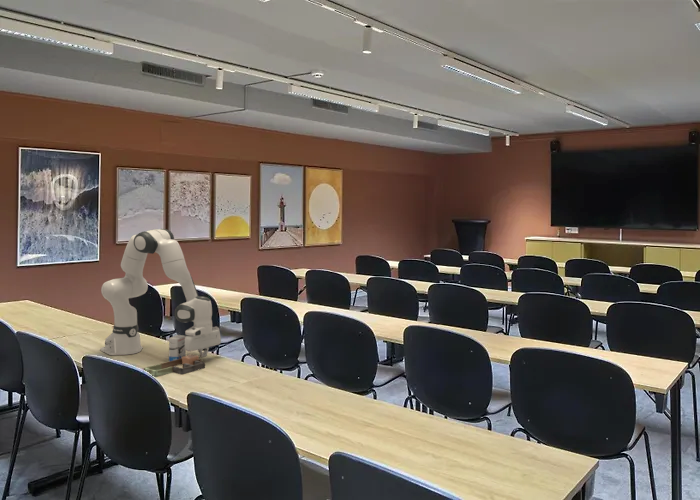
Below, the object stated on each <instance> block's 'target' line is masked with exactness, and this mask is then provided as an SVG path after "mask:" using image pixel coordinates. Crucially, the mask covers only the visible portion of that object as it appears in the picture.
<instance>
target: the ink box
mask: <svg viewBox="0 0 700 500" xmlns="http://www.w3.org/2000/svg"><path fill="white" fill-rule="evenodd" d="M186 336H187V335H183V334H182V335H181V334H175V335H173V336H171V337H169V339H168V362H169V361H173V360H177V359H181V358H182V357H184V356H187V355H186V352H187V351H186V350H185V337H186Z"/></svg>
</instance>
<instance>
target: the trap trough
mask: <svg viewBox="0 0 700 500" xmlns="http://www.w3.org/2000/svg"><path fill="white" fill-rule="evenodd" d="M179 365H182V358H181V359H177V360H173V361H169V360H168V361H166V362H162V363H157V364H155V365H150V366H147V367H143V371H144V370H145V371H147V372H149V373H150V374H152V375H153V376H152V377H154V376H155V378H157V377H161V376H164V375H169V374H172V373H175V374H180V375H184V374H189V373H191V372H195V371H199V370H202V369H205V368H206V362H204V361H202V359H201V358H199V359H198V360H194V365H191V364H187V363H183V365H182V367H179ZM198 369H199V370H198Z"/></svg>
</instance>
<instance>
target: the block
mask: <svg viewBox="0 0 700 500" xmlns="http://www.w3.org/2000/svg"><path fill="white" fill-rule="evenodd" d="M199 357H200V355H197V354H196V355H195V354H193V353H192V354H189V355H186V356H184V357H182V364H181V365H182V366H183V363H187V364H191V365H194V360H198V359H200V358H199Z"/></svg>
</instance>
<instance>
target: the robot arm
mask: <svg viewBox="0 0 700 500" xmlns="http://www.w3.org/2000/svg"><path fill="white" fill-rule="evenodd" d="M123 252H124V253H123V255H122V259H121V262H120V267H121V268H120V269H121V270H122V271H123V272H124V273H125V275H124V276H123V277H121V278H113V279H110V280H107V281H105V282H103V284H102V285H101V289H100V291H101V295H102V297H103V298H104V300H107V301H108V303H110V306H111V308H112V310H113V319H114V321H113V323H114V325H112V327H111V328H112V332H111V333H110V334H109V335H108V336H107V337H106V338H105V339H104V346H102V347H100V349H99V350H100V351H101V352H103V353H105V354H107V355H109V356H120V355H121V356H123V355H124V356H127V355H133V354H134V355H135V354H137V353H140V352H141V351H142V349H143V348H144V347H143V346H142V344H141V334H140V333H139V325H138V312H137V309H136V307H134V306H132V305H131V304H130V301H129V299H133V298H137V297H141V296H143V295H145V294H146V292H147V291H148V289H149V288H148V287H149V286H148V285H149V284H148V282H147V279H146V278H144V276H143V275H144V274H143V273H144V267H145V264H146V260H147V257H148V254H152V255H153V254H155V253H156V254H157V255H159V258H160V261H161V266H162V270H163V271H164V274H165V276H166V277H167V278H168V279H170V280H172V281H175V282H177V283H178V284H179V285H180V287H181V289H182V292H183V294H184V296H185V300H186V302H183V303H180V304H179V305H177V306H176V307H175V309H174V317H175V318H176V320H177V321H178V322H180V323H190V322H193V326H191V327H189V328H188V329H186V330H185V331H184V332H185V333H184V334H185V336H186V337H185V350H186V352H194V351H198V353H199V357H200V358H204V357H207V356H208V352H209V350H210V347H215V346H218V345H221V344H222V340H221V339H222V338H221V332H220V331H221V330H220V328H219V326H213V320H212V316H213V307H212V301H211V299H210V298H209V297H208V296H202V295H199V293H198V291H197V287H196V284H195V281H194V280H193V277H192V274H191V272H190V271H189V269H188V267H187V263H186V259H185V255H184V252H183V250H182V248H181V245H180V244H179V242H178V240H176V239H175V236H174V233H173V232H172V231H170V230H168V229H166V228H160V229H159V228H157V229H154V228H153V229H151V230H146V231H141V232H139V233H137V234H134V235H132V236H131V237H130V239H129V240H128V242H127V244H126V247H125V249H124V251H123Z"/></svg>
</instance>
